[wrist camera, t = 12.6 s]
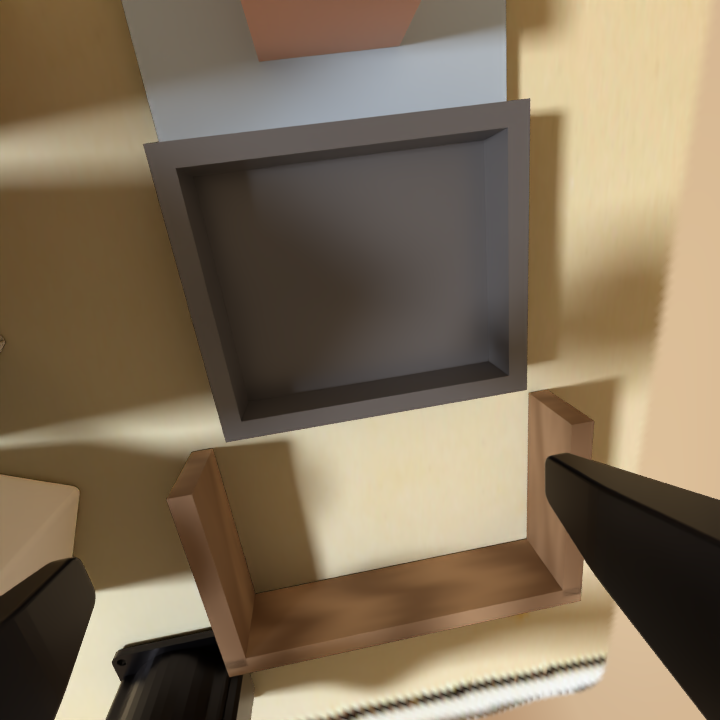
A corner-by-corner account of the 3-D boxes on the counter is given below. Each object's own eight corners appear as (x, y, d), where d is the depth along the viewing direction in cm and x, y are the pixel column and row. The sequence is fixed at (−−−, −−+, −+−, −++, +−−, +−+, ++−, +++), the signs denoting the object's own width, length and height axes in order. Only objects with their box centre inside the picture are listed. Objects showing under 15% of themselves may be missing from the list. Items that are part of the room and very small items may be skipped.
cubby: (241, 610, 22) (229, 677, 19) (191, 451, 19) (166, 499, 15) (542, 548, 23) (580, 600, 20) (547, 389, 20) (594, 420, 17)
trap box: (236, 415, 18) (226, 442, 16) (169, 157, 15) (143, 144, 12) (500, 370, 19) (526, 389, 17) (497, 118, 16) (530, 98, 13)
